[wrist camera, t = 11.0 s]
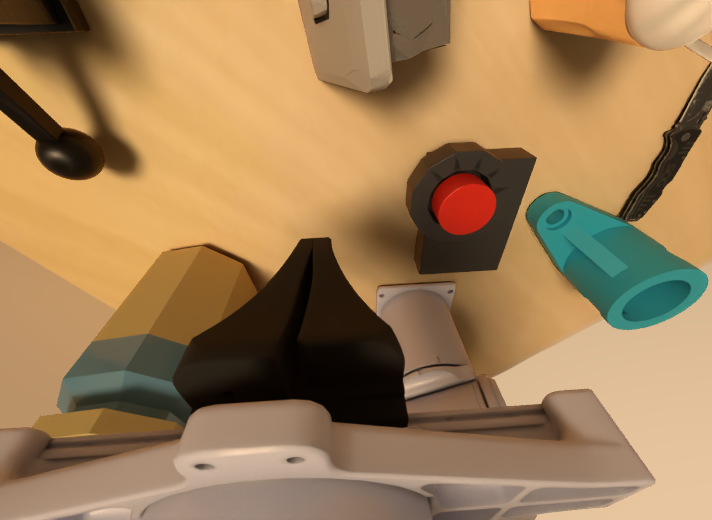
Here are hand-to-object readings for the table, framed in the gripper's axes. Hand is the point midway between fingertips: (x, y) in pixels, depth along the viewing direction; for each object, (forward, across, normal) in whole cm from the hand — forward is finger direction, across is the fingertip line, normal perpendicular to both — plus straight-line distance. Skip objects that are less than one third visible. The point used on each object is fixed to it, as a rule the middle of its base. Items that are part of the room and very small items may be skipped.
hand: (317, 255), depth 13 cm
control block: (+10, -10, +3) cm, 15 cm away
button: (+7, -9, +1) cm, 11 cm away
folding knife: (+10, -25, -1) cm, 27 cm away
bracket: (+10, -22, +7) cm, 25 cm away
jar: (+11, +12, +10) cm, 19 cm away
